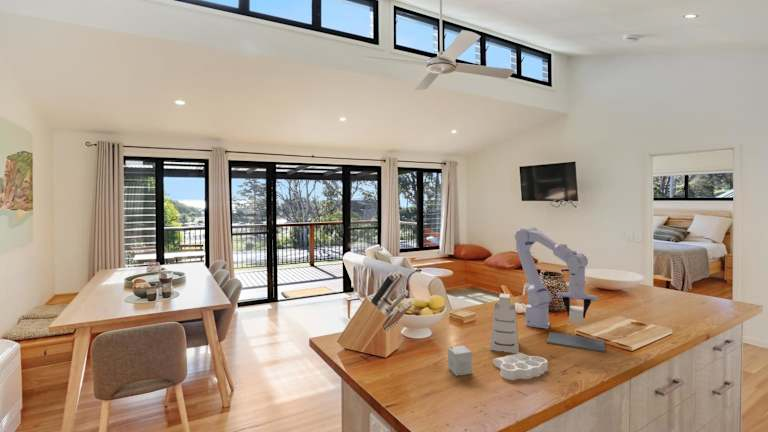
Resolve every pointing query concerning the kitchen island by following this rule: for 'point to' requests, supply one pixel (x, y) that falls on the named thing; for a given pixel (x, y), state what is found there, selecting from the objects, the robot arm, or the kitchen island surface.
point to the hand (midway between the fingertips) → (576, 316)
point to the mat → (576, 341)
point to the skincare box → (460, 360)
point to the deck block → (576, 314)
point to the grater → (504, 326)
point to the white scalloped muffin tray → (521, 366)
